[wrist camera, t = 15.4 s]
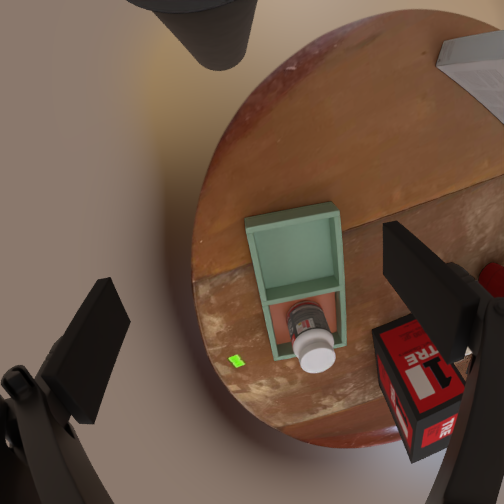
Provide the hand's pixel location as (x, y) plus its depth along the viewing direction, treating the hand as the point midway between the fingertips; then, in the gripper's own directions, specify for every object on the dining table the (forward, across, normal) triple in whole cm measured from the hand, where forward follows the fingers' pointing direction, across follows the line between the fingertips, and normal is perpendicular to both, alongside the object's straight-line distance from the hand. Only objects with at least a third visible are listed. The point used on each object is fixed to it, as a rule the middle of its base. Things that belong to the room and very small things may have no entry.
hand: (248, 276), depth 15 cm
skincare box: (+27, +39, +7) cm, 48 cm away
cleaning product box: (+27, +22, -38) cm, 51 cm away
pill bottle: (+26, +5, -24) cm, 35 cm away
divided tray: (+27, +5, -18) cm, 33 cm away
